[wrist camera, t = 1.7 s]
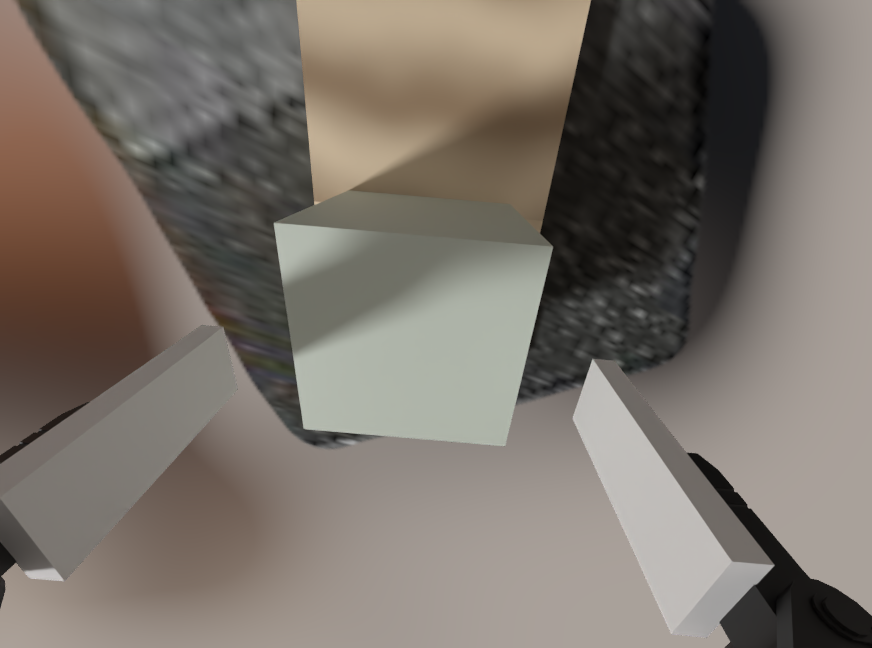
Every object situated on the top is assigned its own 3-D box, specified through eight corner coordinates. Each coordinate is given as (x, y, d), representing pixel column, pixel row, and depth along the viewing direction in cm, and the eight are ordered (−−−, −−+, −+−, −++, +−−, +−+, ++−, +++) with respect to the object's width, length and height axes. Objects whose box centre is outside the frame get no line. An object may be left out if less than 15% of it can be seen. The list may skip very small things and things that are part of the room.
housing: (348, 190, 19) (273, 223, 11) (510, 203, 19) (553, 246, 11) (354, 331, 23) (304, 429, 15) (486, 342, 23) (505, 446, 15)
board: (307, -61, 16) (288, -87, 14) (586, -36, 16) (604, -60, 14) (336, 344, 26) (328, 359, 24) (505, 359, 26) (509, 374, 24)
